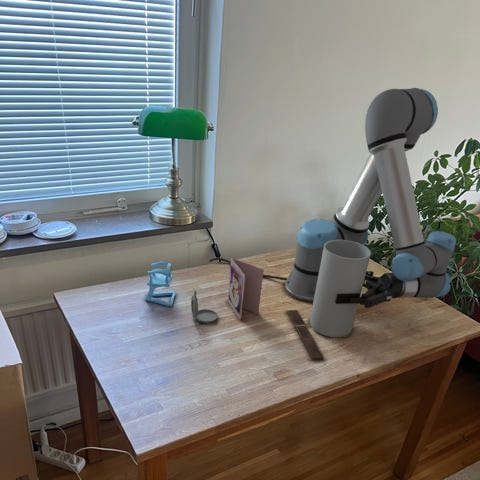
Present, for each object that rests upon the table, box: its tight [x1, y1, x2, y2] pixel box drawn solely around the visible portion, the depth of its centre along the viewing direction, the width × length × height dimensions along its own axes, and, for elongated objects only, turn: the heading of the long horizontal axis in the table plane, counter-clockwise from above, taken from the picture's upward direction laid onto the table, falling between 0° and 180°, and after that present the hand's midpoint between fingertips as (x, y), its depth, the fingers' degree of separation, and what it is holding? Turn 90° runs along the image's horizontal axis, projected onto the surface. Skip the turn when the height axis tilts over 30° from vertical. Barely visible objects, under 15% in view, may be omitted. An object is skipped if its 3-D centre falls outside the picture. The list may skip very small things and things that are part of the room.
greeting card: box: [227, 257, 265, 321], centre depth 140 cm, size 11×7×15 cm, turn 21°
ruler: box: [286, 309, 324, 361], centre depth 135 cm, size 24×3×1 cm, turn 11°
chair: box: [145, 261, 176, 307], centre depth 142 cm, size 8×8×12 cm
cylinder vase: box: [309, 240, 372, 338], centre depth 133 cm, size 12×12×25 cm
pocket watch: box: [190, 287, 218, 324], centre depth 136 cm, size 8×8×10 cm
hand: (327, 287), depth 132 cm, fingers closed on cylinder vase, 12 cm apart
